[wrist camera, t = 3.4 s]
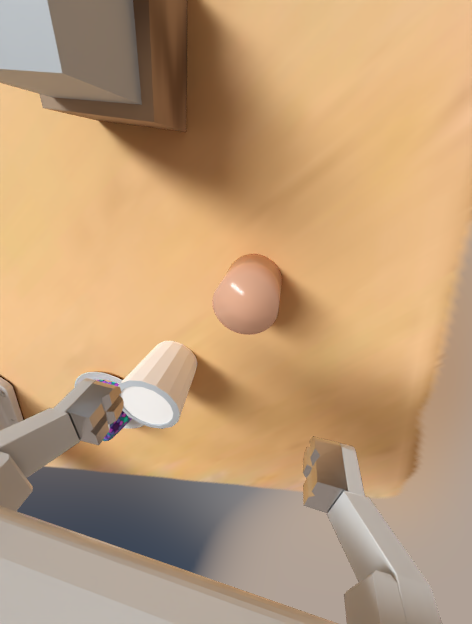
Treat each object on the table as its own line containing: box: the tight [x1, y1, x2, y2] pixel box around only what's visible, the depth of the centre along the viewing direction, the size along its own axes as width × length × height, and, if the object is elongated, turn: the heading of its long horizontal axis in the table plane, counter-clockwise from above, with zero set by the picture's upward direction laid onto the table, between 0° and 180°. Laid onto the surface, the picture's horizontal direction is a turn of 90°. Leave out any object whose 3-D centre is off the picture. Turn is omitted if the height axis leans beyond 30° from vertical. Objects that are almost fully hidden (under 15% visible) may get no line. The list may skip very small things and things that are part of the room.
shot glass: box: [118, 341, 198, 429], centre depth 27 cm, size 7×7×7 cm
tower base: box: [40, 0, 187, 132], centre depth 14 cm, size 7×7×5 cm
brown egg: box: [213, 254, 282, 334], centre depth 21 cm, size 5×5×5 cm
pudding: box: [75, 372, 144, 441], centre depth 35 cm, size 12×12×5 cm
